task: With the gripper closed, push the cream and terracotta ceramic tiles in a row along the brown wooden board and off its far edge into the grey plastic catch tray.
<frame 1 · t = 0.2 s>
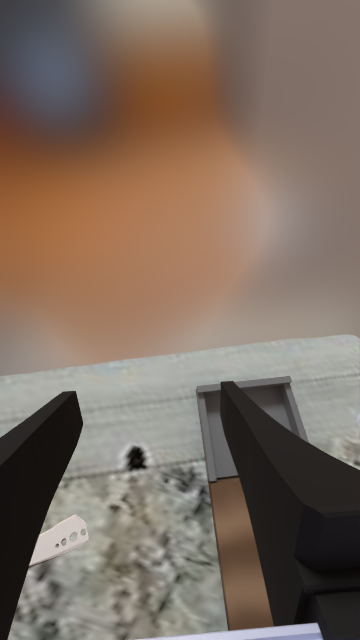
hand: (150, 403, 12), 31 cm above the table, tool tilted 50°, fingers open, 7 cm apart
catch tray: (247, 425, 40), on the table
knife: (35, 527, 34), on the table
brown wooden board: (273, 542, 33), on the table
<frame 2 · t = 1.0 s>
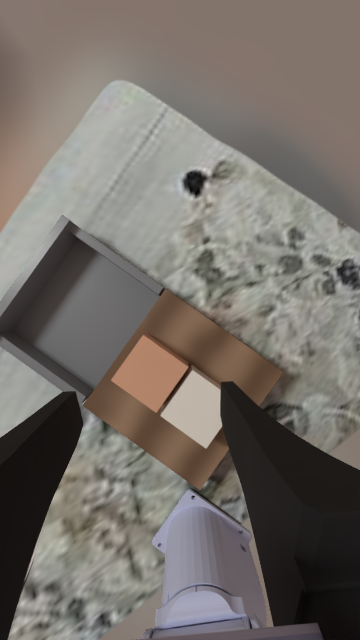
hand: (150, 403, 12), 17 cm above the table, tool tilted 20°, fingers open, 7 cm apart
catch tray: (84, 312, 29), on the table
cream tile: (197, 399, 26), point 3 cm above the table, touching brown wooden board
brown wooden board: (182, 381, 29), on the table
terracotta tile: (153, 367, 26), point 3 cm above the table, touching brown wooden board
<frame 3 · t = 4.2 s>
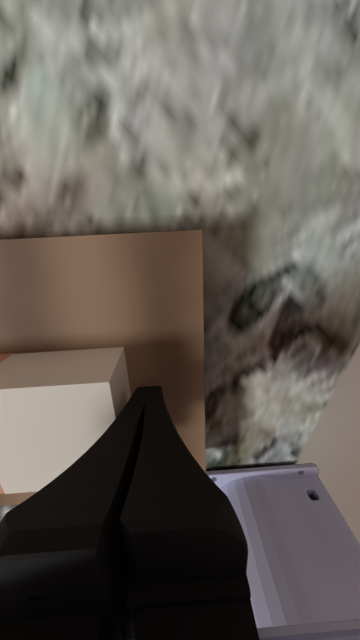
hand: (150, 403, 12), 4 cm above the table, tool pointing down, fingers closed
cream tile: (78, 396, 12), point 3 cm above the table, touching gripper, terracotta tile
brown wooden board: (76, 367, 15), on the table
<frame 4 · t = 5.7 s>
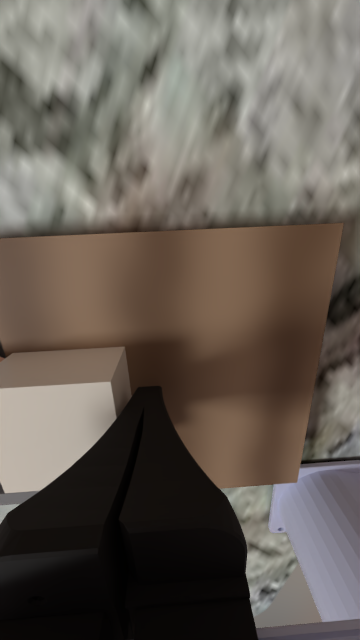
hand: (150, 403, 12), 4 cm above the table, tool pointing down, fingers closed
cream tile: (79, 395, 12), point 3 cm above the table, touching brown wooden board, gripper
brown wooden board: (170, 361, 15), on the table
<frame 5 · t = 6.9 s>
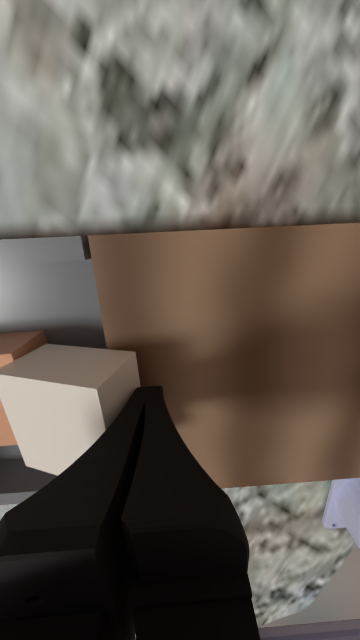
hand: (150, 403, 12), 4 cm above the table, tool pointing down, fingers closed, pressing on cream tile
catch tray: (17, 371, 15), on the table
cream tile: (97, 392, 13), point 3 cm above the table, tilted 20°, touching gripper, terracotta tile
brown wooden board: (244, 357, 15), on the table
terracotta tile: (11, 373, 15), point 1 cm above the table, touching cream tile
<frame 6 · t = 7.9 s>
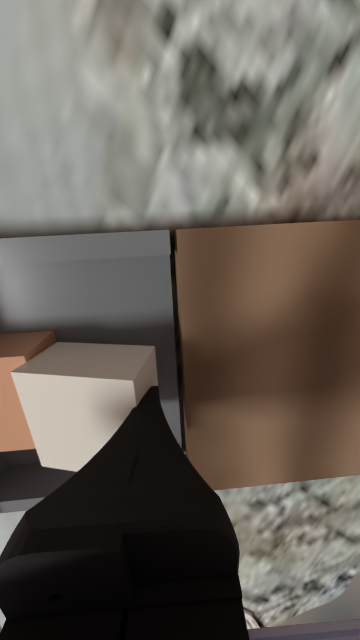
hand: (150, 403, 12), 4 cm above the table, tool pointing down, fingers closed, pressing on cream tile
catch tray: (71, 370, 15), on the table
cream tile: (111, 388, 13), point 2 cm above the table, tilted 14°, touching gripper, terracotta tile
brown wooden board: (299, 352, 15), on the table
terracotta tile: (18, 375, 14), point 1 cm above the table, touching catch tray, cream tile
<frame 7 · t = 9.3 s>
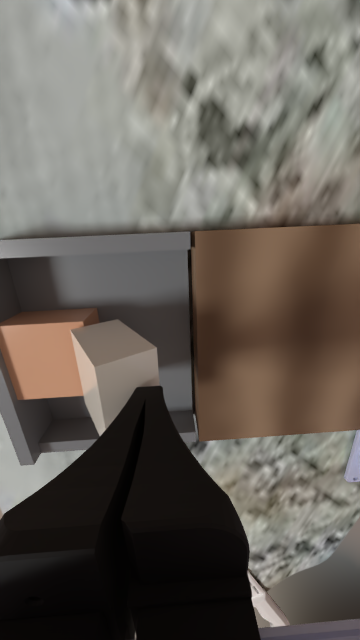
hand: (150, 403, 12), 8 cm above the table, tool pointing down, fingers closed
catch tray: (107, 341, 19), on the table
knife: (223, 575, 32), on the table
cream tile: (138, 371, 14), point 5 cm above the table, tilted 58°, touching terracotta tile
brown wooden board: (289, 330, 19), on the table
terracotta tile: (67, 343, 18), resting on catch tray, touching cream tile
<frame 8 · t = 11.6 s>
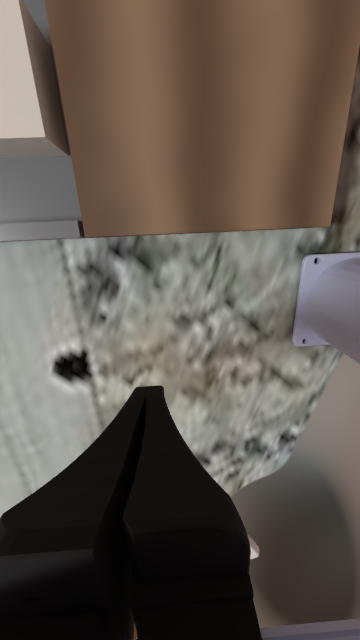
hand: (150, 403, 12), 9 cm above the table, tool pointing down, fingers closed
cream tile: (14, 105, 14), resting on catch tray
brown wooden board: (201, 102, 15), on the table
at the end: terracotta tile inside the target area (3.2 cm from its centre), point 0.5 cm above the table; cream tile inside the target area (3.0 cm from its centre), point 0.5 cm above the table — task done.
